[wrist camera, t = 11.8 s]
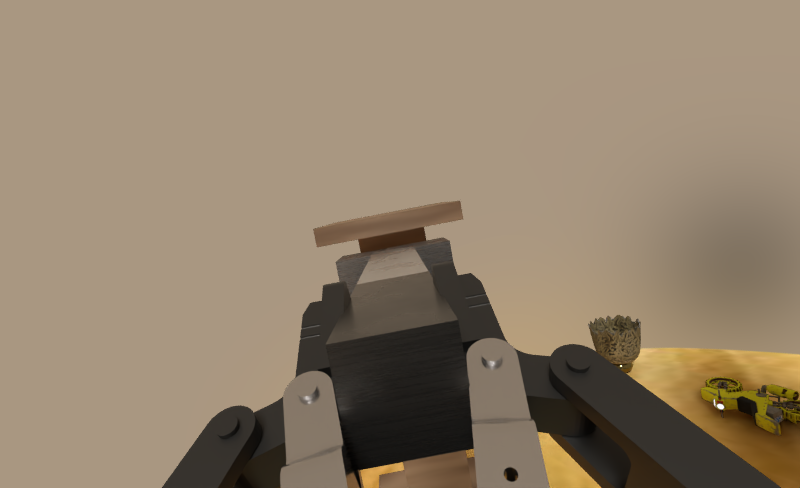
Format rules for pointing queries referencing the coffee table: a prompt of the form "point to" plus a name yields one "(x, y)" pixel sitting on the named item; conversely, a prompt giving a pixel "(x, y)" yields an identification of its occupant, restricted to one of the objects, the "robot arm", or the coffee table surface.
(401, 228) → the stand
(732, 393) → the toy motorcycle
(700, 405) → the coffee table surface
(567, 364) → the robot arm
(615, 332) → the cup
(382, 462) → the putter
